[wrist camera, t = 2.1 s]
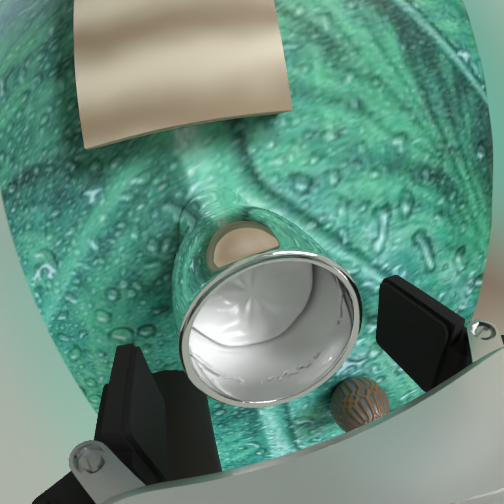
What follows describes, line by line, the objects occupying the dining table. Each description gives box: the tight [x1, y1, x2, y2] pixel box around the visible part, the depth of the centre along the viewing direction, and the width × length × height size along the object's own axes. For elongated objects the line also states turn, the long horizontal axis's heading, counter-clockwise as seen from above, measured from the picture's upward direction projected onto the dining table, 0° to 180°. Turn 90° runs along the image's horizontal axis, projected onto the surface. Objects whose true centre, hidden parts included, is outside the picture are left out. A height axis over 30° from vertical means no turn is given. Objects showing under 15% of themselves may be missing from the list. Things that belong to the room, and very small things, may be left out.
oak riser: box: [74, 0, 292, 149], centre depth 16 cm, size 16×14×3 cm
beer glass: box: [171, 188, 362, 408], centre depth 16 cm, size 7×7×15 cm
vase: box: [331, 377, 390, 433], centre depth 30 cm, size 7×7×9 cm
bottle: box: [152, 370, 222, 482], centre depth 19 cm, size 7×7×20 cm
